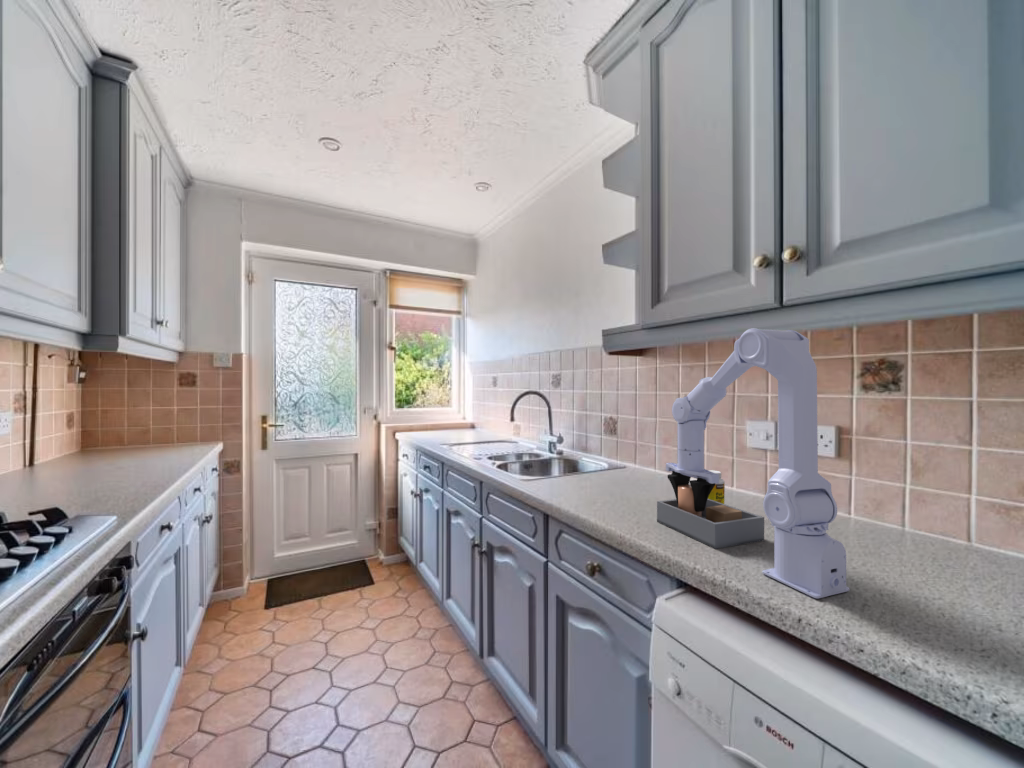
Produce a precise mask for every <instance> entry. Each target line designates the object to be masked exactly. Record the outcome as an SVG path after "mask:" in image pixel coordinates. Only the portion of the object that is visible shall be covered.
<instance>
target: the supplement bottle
mask: <svg viewBox="0 0 1024 768" xmlns="http://www.w3.org/2000/svg"><path fill="white" fill-rule="evenodd" d="M707 470H708V471H710V472H713V473H716V474H719V483H715V486H714V488H713V489H712V491H711V492H710V494H709V497H708V499H710V500H713V501H716V502H719V503H722V504H725V492H726V491H725V489H726V487H725V485H726V484H725V480H724V479H723V478H722V477H723V476H722V472H721V471H719V470H714V469H711V470H710V469H707Z"/></svg>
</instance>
